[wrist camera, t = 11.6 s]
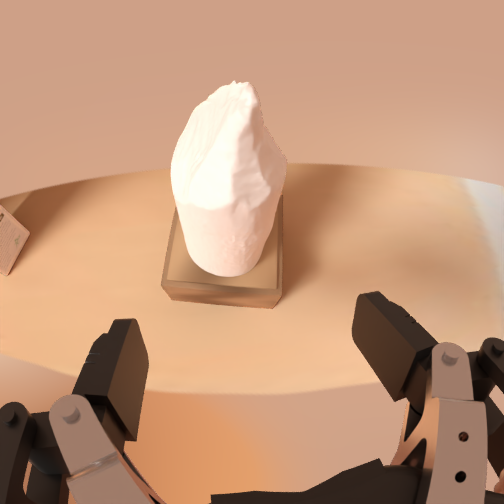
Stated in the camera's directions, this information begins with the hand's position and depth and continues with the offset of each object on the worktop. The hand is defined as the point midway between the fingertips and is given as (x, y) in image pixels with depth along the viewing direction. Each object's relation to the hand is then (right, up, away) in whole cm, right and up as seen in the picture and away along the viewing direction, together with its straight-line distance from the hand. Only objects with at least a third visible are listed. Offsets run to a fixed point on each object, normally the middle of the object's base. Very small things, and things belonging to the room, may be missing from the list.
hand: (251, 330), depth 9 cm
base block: (-2, +2, +14) cm, 14 cm away
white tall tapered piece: (-2, +4, +10) cm, 11 cm away
